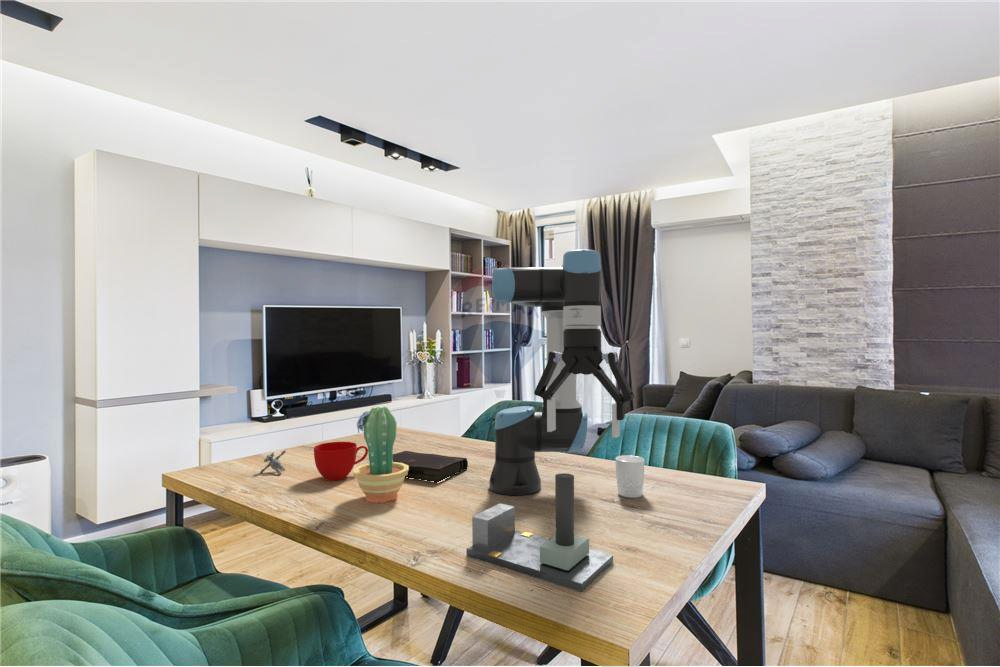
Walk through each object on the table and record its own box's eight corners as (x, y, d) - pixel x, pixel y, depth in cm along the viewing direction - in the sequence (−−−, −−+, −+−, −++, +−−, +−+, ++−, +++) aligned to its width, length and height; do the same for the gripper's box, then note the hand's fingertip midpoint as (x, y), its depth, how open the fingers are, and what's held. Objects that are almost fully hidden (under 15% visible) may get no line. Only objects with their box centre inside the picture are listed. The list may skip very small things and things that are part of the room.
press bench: (466, 555, 106) (466, 519, 106) (505, 533, 118) (504, 500, 118) (581, 592, 92) (581, 549, 91) (613, 562, 103) (612, 524, 103)
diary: (406, 463, 184) (406, 449, 184) (467, 471, 173) (468, 456, 173) (371, 476, 167) (371, 460, 167) (437, 486, 156) (437, 469, 156)
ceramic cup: (375, 476, 164) (374, 445, 164) (320, 486, 155) (320, 452, 155) (361, 468, 175) (360, 438, 175) (309, 476, 165) (309, 445, 165)
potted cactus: (383, 485, 155) (383, 402, 155) (421, 494, 146) (420, 406, 146) (340, 499, 142) (340, 408, 142) (379, 510, 133) (378, 413, 133)
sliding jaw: (540, 562, 99) (539, 478, 99) (562, 546, 107) (562, 468, 107) (568, 570, 96) (567, 484, 96) (589, 553, 103) (588, 472, 103)
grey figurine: (263, 478, 164) (251, 464, 169) (274, 488, 168) (262, 473, 173) (289, 455, 167) (277, 442, 173) (299, 465, 172) (287, 451, 177)
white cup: (645, 499, 141) (645, 462, 141) (615, 497, 143) (615, 461, 143) (643, 490, 149) (643, 455, 149) (615, 489, 150) (615, 454, 150)
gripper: (518, 328, 107) (518, 431, 107) (639, 326, 95) (640, 443, 95) (533, 328, 114) (534, 425, 114) (649, 327, 101) (650, 435, 101)
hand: (582, 433), depth 104 cm, fingers open, 13 cm apart
